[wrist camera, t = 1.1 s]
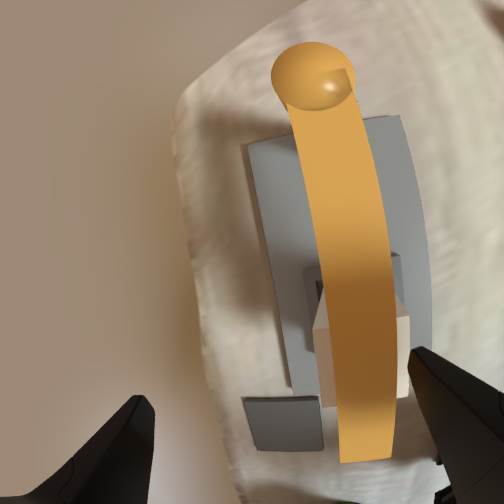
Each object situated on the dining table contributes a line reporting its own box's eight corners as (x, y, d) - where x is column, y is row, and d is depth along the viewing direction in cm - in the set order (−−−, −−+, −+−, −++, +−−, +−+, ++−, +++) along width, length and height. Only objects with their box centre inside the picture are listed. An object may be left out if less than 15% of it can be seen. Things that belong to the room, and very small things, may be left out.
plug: (386, 329, 20) (407, 396, 11) (331, 337, 21) (321, 407, 13) (382, 273, 19) (409, 315, 11) (324, 283, 21) (312, 330, 12)
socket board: (427, 371, 20) (458, 451, 10) (295, 389, 24) (265, 472, 14) (397, 119, 18) (431, 54, 9) (250, 147, 22) (186, 106, 12)
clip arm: (275, 74, 11) (263, 52, 9) (341, 60, 10) (340, 36, 8) (336, 437, 12) (333, 463, 10) (393, 430, 11) (397, 456, 9)
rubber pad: (323, 447, 24) (323, 451, 23) (258, 446, 26) (257, 450, 25) (318, 396, 23) (317, 400, 22) (245, 398, 25) (243, 401, 25)
